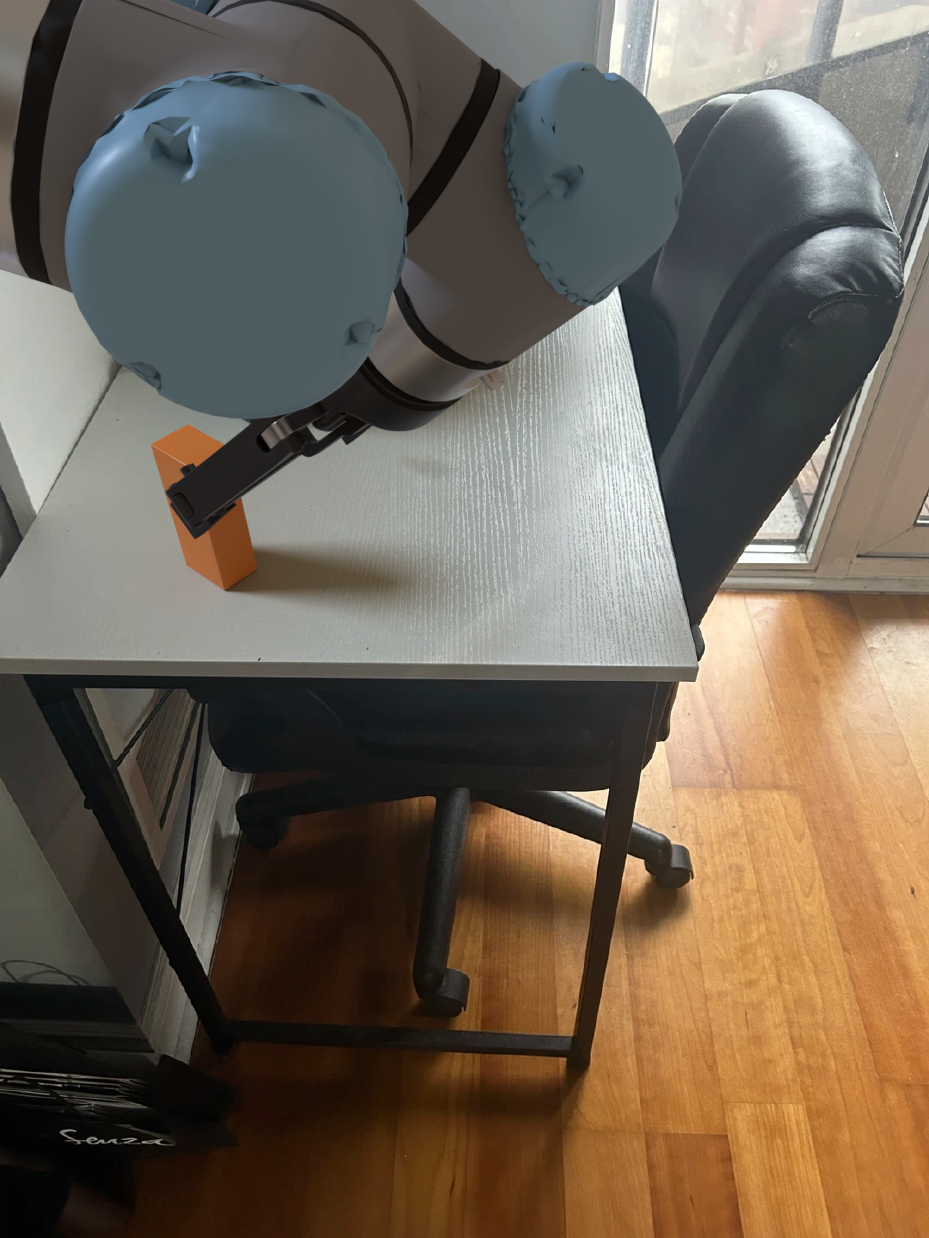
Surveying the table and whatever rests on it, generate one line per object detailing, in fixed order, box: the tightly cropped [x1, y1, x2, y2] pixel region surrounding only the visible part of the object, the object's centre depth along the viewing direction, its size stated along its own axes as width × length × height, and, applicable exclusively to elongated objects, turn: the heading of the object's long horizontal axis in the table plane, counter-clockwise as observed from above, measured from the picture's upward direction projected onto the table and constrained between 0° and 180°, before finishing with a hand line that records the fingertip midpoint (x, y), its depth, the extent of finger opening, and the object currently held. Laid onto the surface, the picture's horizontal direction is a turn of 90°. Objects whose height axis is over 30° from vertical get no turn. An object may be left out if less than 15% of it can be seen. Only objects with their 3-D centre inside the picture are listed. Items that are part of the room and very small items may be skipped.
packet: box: [150, 423, 258, 591], centre depth 74 cm, size 4×5×12 cm
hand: (267, 470), depth 64 cm, fingers open, 13 cm apart
